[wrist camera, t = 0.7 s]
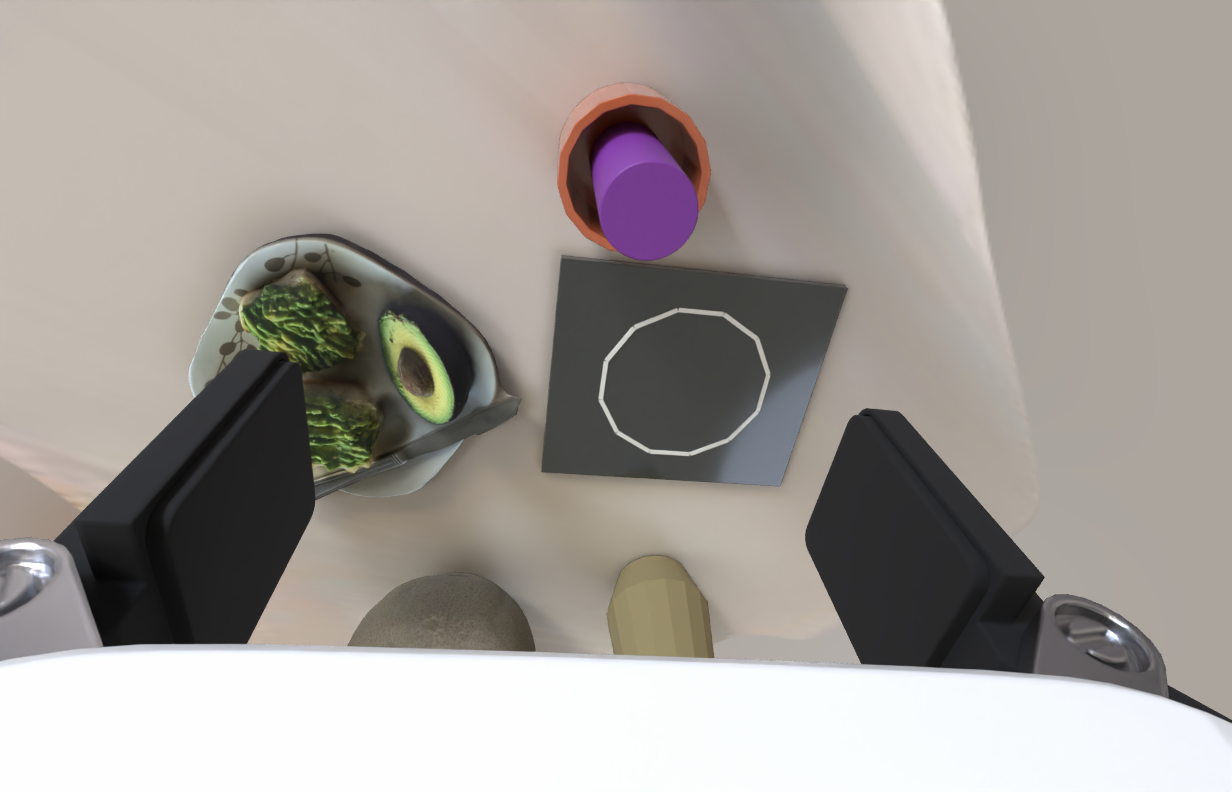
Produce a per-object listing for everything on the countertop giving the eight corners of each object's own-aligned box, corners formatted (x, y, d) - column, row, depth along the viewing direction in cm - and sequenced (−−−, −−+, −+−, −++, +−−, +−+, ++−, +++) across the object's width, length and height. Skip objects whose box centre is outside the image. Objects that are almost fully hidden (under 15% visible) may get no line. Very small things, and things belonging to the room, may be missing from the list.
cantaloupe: (578, 589, 53) (583, 774, 40) (461, 665, 57) (431, 856, 44) (450, 494, 46) (408, 677, 34) (329, 588, 50) (250, 783, 38)
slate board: (561, 254, 38) (561, 258, 37) (844, 284, 40) (848, 288, 39) (541, 467, 46) (541, 473, 45) (777, 481, 48) (780, 487, 47)
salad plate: (396, 538, 48) (381, 585, 44) (152, 420, 41) (109, 463, 37) (549, 363, 41) (548, 400, 37) (288, 186, 34) (253, 209, 30)
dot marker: (593, 113, 33) (605, 154, 24) (667, 123, 34) (708, 167, 24) (585, 190, 35) (593, 256, 26) (655, 199, 36) (688, 266, 26)
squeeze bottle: (687, 532, 50) (743, 762, 35) (708, 597, 54) (766, 827, 39) (591, 558, 51) (604, 794, 36) (619, 620, 55) (641, 855, 40)
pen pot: (565, 73, 33) (565, 84, 28) (701, 93, 33) (724, 106, 29) (553, 214, 36) (552, 244, 32) (676, 228, 37) (693, 259, 33)
